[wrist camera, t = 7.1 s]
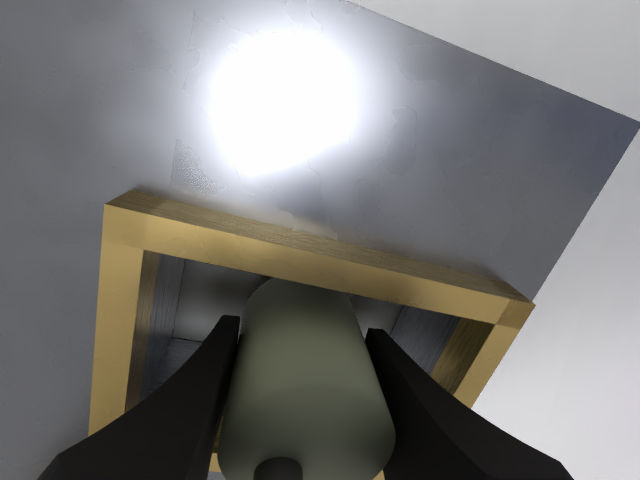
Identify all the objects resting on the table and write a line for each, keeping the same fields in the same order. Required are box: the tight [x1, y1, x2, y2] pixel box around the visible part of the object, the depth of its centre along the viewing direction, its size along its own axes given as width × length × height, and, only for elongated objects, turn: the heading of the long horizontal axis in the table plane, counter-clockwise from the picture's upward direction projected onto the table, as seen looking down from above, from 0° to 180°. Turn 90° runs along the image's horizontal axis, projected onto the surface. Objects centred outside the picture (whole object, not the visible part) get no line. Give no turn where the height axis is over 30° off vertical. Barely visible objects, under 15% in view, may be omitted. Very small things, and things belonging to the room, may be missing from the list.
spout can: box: [217, 277, 396, 480], centre depth 11 cm, size 5×5×8 cm
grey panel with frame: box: [0, 0, 640, 480], centre depth 13 cm, size 23×22×6 cm
